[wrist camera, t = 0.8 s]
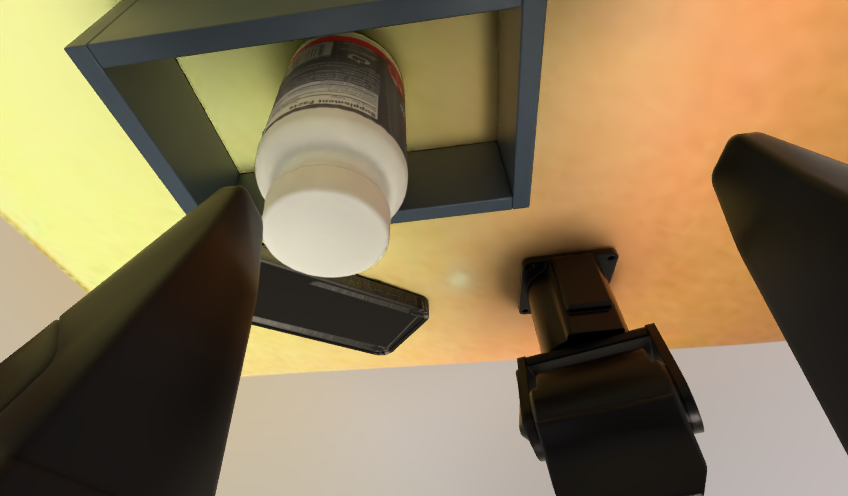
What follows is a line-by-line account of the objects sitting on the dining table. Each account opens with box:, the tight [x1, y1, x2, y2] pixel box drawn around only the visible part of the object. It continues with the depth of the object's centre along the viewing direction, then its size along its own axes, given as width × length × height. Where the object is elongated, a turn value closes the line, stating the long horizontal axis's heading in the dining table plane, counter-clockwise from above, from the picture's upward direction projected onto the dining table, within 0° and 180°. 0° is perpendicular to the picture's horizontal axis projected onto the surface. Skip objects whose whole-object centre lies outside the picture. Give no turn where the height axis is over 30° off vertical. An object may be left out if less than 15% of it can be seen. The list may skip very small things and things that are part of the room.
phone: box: [251, 245, 429, 355], centre depth 32 cm, size 8×1×15 cm
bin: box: [64, 0, 547, 239], centre depth 18 cm, size 10×16×4 cm, turn 97°
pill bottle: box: [255, 32, 408, 278], centre depth 17 cm, size 5×5×10 cm
